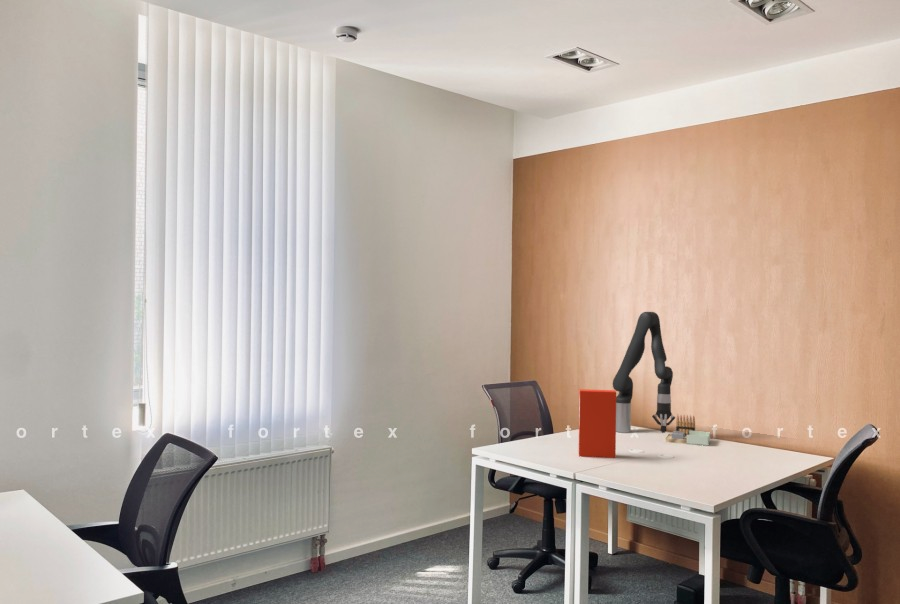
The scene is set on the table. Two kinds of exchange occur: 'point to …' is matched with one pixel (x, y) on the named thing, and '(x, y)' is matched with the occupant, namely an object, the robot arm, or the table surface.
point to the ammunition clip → (685, 424)
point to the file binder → (597, 423)
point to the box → (698, 438)
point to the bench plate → (670, 439)
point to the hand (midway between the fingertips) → (663, 432)
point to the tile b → (678, 435)
